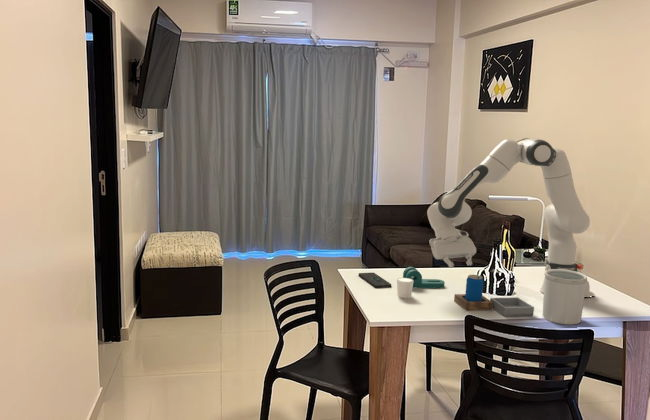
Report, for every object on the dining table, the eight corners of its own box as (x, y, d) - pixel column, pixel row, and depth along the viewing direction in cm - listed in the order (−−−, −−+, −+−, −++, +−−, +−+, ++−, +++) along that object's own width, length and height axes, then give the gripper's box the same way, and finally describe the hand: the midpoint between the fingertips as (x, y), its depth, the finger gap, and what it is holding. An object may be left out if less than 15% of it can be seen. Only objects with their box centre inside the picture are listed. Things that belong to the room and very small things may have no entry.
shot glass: (415, 295, 239) (416, 279, 238) (408, 299, 234) (409, 283, 233) (400, 292, 243) (401, 276, 242) (393, 296, 237) (394, 279, 236)
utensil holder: (551, 325, 211) (556, 279, 208) (533, 311, 225) (538, 268, 222) (589, 325, 212) (595, 279, 209) (569, 312, 227) (574, 269, 224)
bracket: (406, 288, 250) (407, 270, 249) (402, 283, 257) (403, 266, 256) (446, 288, 252) (447, 271, 251) (441, 284, 259) (442, 267, 258)
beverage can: (481, 309, 226) (484, 279, 224) (464, 307, 227) (467, 278, 225) (480, 303, 232) (483, 275, 230) (464, 302, 233) (466, 273, 231)
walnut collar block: (479, 300, 236) (480, 293, 236) (492, 309, 225) (493, 302, 225) (454, 301, 234) (454, 294, 233) (465, 310, 223) (466, 303, 223)
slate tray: (517, 305, 232) (517, 297, 231) (533, 315, 220) (534, 307, 220) (489, 306, 229) (490, 297, 229) (504, 316, 218) (505, 308, 217)
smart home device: (374, 285, 247) (357, 272, 266) (374, 289, 248) (357, 276, 266) (392, 284, 250) (374, 272, 269) (392, 288, 250) (373, 275, 269)
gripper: (431, 234, 235) (444, 263, 228) (470, 232, 244) (484, 259, 237) (424, 242, 240) (436, 271, 233) (463, 240, 249) (476, 267, 242)
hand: (461, 265), depth 235 cm, fingers open, 8 cm apart
